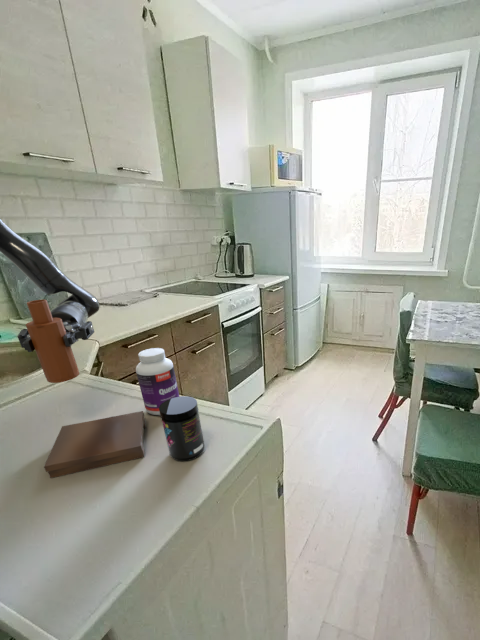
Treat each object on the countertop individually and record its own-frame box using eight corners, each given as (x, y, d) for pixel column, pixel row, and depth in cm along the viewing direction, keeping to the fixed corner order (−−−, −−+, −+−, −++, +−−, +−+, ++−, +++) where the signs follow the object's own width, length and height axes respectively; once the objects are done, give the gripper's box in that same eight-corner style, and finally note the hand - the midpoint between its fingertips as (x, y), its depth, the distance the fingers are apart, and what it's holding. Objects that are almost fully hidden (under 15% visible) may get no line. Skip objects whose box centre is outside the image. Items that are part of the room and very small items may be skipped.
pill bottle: (167, 419, 80) (153, 360, 73) (138, 414, 82) (123, 357, 76) (188, 402, 87) (177, 347, 80) (161, 398, 89) (148, 344, 83)
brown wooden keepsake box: (49, 479, 63) (43, 466, 61) (66, 438, 75) (61, 426, 73) (144, 458, 67) (140, 445, 66) (146, 422, 79) (143, 410, 78)
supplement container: (184, 438, 72) (175, 394, 68) (212, 445, 70) (204, 399, 65) (162, 458, 67) (150, 411, 62) (191, 466, 64) (181, 417, 60)
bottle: (43, 385, 71) (13, 306, 64) (51, 373, 76) (23, 300, 69) (76, 379, 73) (50, 302, 66) (81, 369, 78) (57, 296, 71)
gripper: (24, 311, 80) (-4, 331, 65) (94, 303, 84) (82, 321, 69) (36, 342, 83) (12, 368, 69) (103, 333, 87) (93, 356, 73)
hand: (47, 344), depth 69 cm, fingers closed on bottle, 6 cm apart
